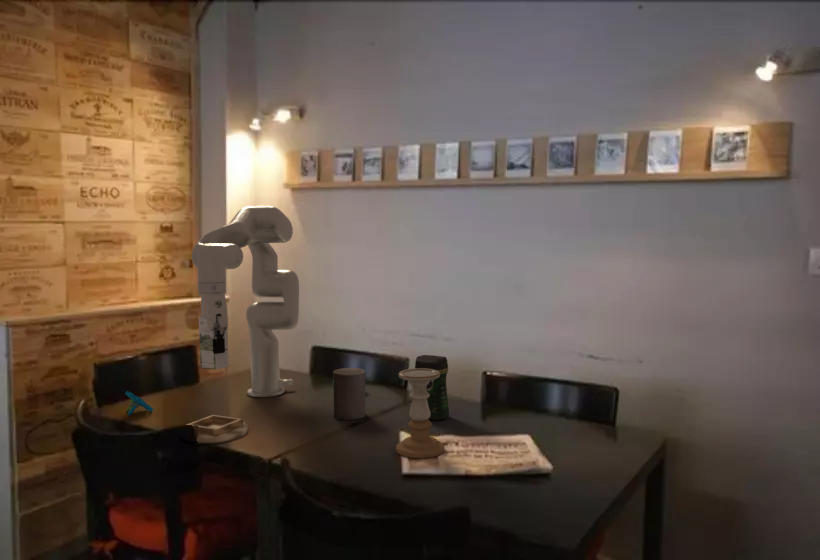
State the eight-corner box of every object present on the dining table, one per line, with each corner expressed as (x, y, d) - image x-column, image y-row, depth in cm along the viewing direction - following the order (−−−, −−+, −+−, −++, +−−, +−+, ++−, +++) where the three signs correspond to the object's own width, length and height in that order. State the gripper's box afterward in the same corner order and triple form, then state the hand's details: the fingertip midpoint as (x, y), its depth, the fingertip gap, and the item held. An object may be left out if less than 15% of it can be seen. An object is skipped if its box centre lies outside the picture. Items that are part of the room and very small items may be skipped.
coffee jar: (452, 416, 206) (452, 354, 205) (440, 422, 199) (439, 359, 198) (424, 411, 211) (423, 351, 210) (411, 418, 204) (410, 356, 203)
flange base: (212, 421, 205) (212, 407, 204) (261, 428, 196) (260, 413, 196) (166, 438, 188) (165, 423, 188) (217, 446, 180) (216, 431, 180)
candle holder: (397, 443, 181) (396, 367, 180) (444, 442, 181) (443, 367, 179) (394, 459, 169) (393, 378, 168) (445, 458, 169) (444, 377, 167)
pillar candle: (328, 418, 205) (326, 368, 204) (343, 410, 214) (342, 362, 213) (357, 421, 202) (356, 371, 201) (371, 413, 211) (370, 364, 210)
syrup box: (229, 366, 195) (228, 315, 194) (215, 370, 190) (213, 318, 189) (213, 365, 198) (212, 314, 197) (199, 368, 193) (197, 317, 192)
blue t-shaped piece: (158, 409, 212) (132, 390, 208) (145, 425, 210) (119, 406, 206) (148, 407, 221) (123, 388, 217) (136, 422, 219) (110, 403, 215)
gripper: (235, 289, 187) (237, 354, 188) (215, 286, 202) (217, 345, 203) (208, 291, 183) (210, 357, 184) (189, 287, 198) (191, 348, 199)
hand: (214, 350), depth 194 cm, fingers closed on syrup box, 7 cm apart
